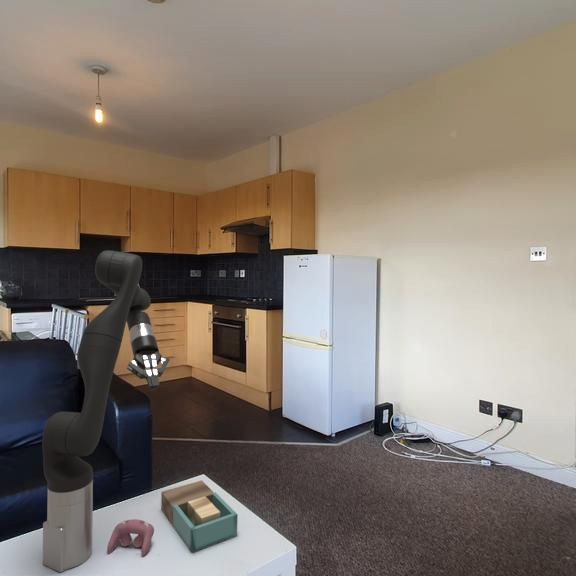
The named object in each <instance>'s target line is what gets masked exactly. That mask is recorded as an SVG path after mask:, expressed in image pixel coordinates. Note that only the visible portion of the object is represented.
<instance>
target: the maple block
mask: <svg viewBox="0 0 576 576" xmlns="http://www.w3.org/2000/svg"><path fill="white" fill-rule="evenodd" d="M218 518H220V511H219V510H218V509H217V508H216V507H215V506H214V505H213V504H212V503H211V502H210V501H209V500H208V498H207V497H206V496H205V497H201V498H198V499H195V500H192V501H189V502H188V519H189V520H190V522H191V523H192V524H193V525H194V527H195V526H198V525H201V524H204V523H207V522H210V521H213V520H215V519H218Z"/></svg>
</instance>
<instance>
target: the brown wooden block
mask: <svg viewBox="0 0 576 576" xmlns="http://www.w3.org/2000/svg"><path fill="white" fill-rule="evenodd" d="M212 493H215V492H214V491H213V490H212V489H211V488H210V487H209V485H207V483H205V482H204V481H203V480H198V481H195V482H191V483H188V484H184V485H180V486H177V487H173V488H170V489H166V490H164V491H161V498H160V500H161V501H160V503H161V504H160V506H161V507H160V509H161V511H162V513H163V515H165V518H167V519H168V521H169V523H170V524H171V526H172V527H173V505H176V504H177V505H178V506H179V508H180V509H181V510H182V511H183V513H184V514H185V515H186V516H187V518H188V502H189V501H192V500H195V499H198V498H201V497H205V496H206V497H207V498H208V500H209V501H210V502H211V503H212Z"/></svg>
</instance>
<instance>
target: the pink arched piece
mask: <svg viewBox="0 0 576 576" xmlns="http://www.w3.org/2000/svg"><path fill="white" fill-rule="evenodd" d="M154 533H155V528H154V526H153V525H152V524H151V523H149V522H147V521H144V520H141V519H127V520H123V521H121V522H119V523H118V524H116V526H115V527H114V529H113V531H112V534H111V536H110V537H109V540H108V544H107V549H106V550H107V553H108V554H111V553H112V552H113V551H114V549H115V548H116V546H117V544H118V542H119V541H120V544H121V546H122V547H127V546H129V545H131V544H132V540H133V544H132V545H133V546H134V547H135V548H141V555H142V557H143V556H144V557H145V556H146V554H147V553H148V552H149V549H150V547H151V542H152V539H153V535H154ZM133 534H134V535H136V536H135V538H134V539H132V535H133Z"/></svg>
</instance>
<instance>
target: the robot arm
mask: <svg viewBox="0 0 576 576" xmlns="http://www.w3.org/2000/svg"><path fill="white" fill-rule="evenodd" d="M94 265H95V267H94V273H95V277H96V279H97V281H98V282H99V283H100V284H102V285H104V286H105V287H107V288H108V289H110V290H111V291H112V292H113V293H115V295H116V296H115V298H114V299H113V300H112V301H111V303H110V304H108V305H107V306H106V307H105V308H104V309H103V310H101V312H99V314H97V315H96V316H95V317H94V318H92V319H91V320H90V321H89V322H88V323H87V325H86V326H85V328H84V329H83V333H82V336H81V339H80V342H79V345H78V350H77V353H76V354H77V355H76V356H77V363H78V366H79V370H80V374H81V377H82V379H83V383H84V398H83V404H82V408H81V412H78V411H77V412H76V411H75V412H73V411H58V412H56V413H54V414H52V415H51V416H50V417H49V418H48V420H47V421H46V424H45V425H44V429H43V433H42V441H41V442H42V443H41V444H42V461H43V474H44V477H45V478H44V479H45V480H46V482H47V503H46V504H47V509H46V510H47V511H46V513H47V514H46V515H47V516H46V518H47V519H46V521H44V522H43V523H42V565H44V566H46V567H48V568H50V569H51V570H55V571H56V572H59V573H63V572H64V571H66V570H69V569H72V568H75V567H77V566H80V565H82V564H83V563H84V562H86V561H88V559H89V558H90V557H91V555H92V553H93V515H94V514H93V511H94V510H93V508H94V506H93V505H94V503H93V502H94V501H93V500H94V497H93V495H94V492H93V491H94V490H93V489H94V487H93V485H94V475H93V474H94V470H93V466H92V465H91V464H90V463H88V462H86V461H85V460H83V459H82V458H80V457H87V456H89V455H91V454H92V453H93V452H94V451H95V449H96V447H97V446H98V444H99V442H100V439H101V436H102V430H103V427H104V421H105V415H106V409H107V403H108V397H109V393H110V387H111V383H112V378H113V375H114V371H115V367H116V363H117V361H118V357H119V354H120V351H121V347H122V342H123V338H124V333H125V328H126V324H127V328H128V332H129V343H130V346H131V350H132V355H133V359H132V360H131V361H129V362H128V364H127V367H126V369H127V370H128V371H130V372H131V373H132V374H134V376H136V377H137V378H138V379H141V380H143V379H144V380H146V383H147V387H148V389H149V390H150V391H157V389H158V388H159V386H160V381H159V378H161V377H162V375H163V374H164V372H165V370H166V368H167V367H168V366H169V363H170V358H169V357H167V358H164V357H162V354H161V353H160V351H159V347H158V343H157V339H156V334H155V332H154V330H153V326H152V323H151V319H150V316H149V314H148V313H147V312H145V311H146V310H147V309H149V308H150V306H151V300H152V298H151V296H150V295H149V293H148V292H147V290H145V289H144V288H142V287H140V285H139V282H140V279H141V275H142V271H143V259H142V257H141V256H140V255H137V254H134V253H128V252H122V251H116V250H102V251H101V252H100V253H99V255H98V256H97V258H96V261H95V264H94ZM159 364H160V365H161V366H160V368H159V369H158V365H159Z"/></svg>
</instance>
